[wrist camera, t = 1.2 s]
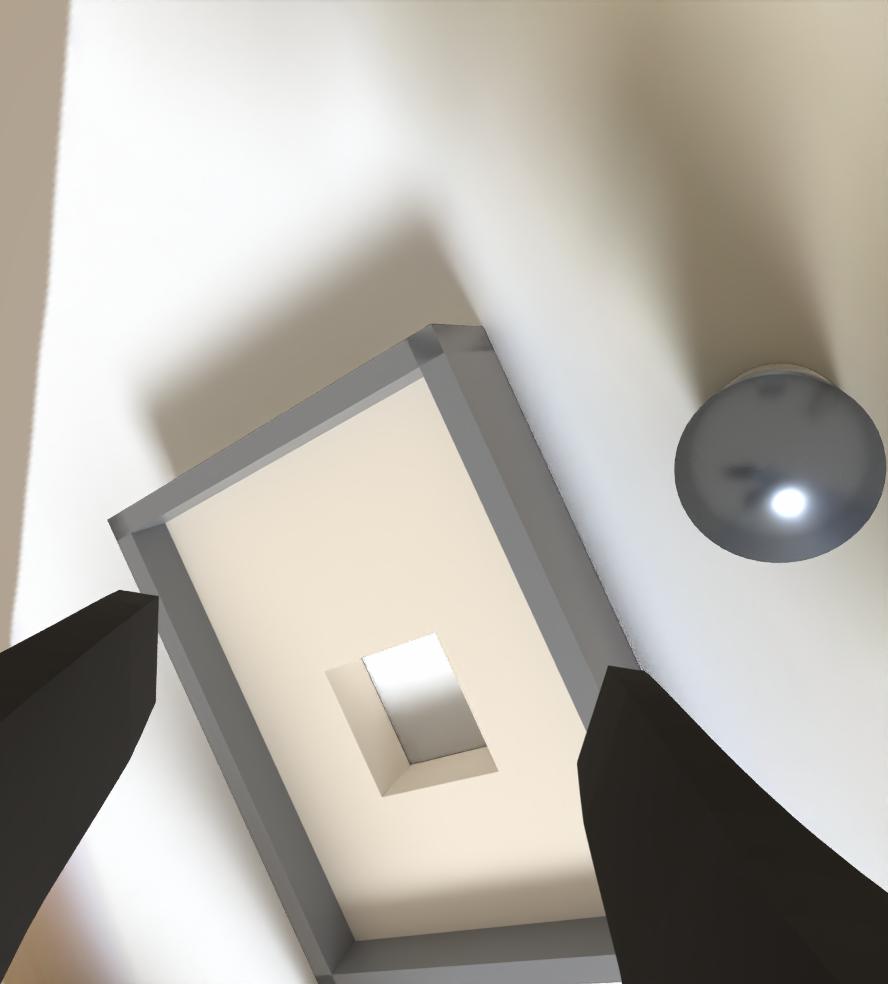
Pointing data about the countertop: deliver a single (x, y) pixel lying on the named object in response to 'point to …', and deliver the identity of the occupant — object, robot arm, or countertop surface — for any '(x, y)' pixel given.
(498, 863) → the tray
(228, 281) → the countertop surface
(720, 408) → the peg
